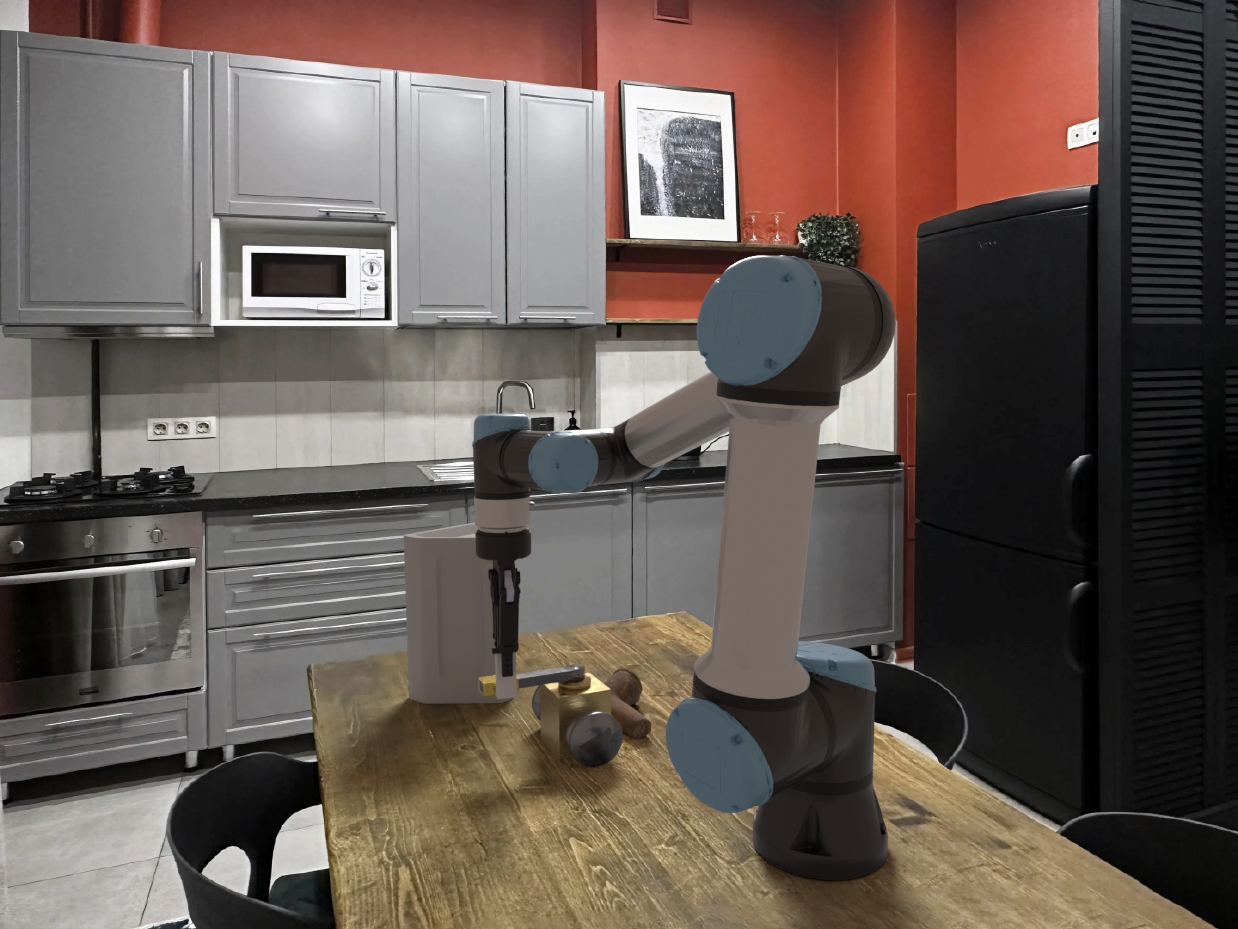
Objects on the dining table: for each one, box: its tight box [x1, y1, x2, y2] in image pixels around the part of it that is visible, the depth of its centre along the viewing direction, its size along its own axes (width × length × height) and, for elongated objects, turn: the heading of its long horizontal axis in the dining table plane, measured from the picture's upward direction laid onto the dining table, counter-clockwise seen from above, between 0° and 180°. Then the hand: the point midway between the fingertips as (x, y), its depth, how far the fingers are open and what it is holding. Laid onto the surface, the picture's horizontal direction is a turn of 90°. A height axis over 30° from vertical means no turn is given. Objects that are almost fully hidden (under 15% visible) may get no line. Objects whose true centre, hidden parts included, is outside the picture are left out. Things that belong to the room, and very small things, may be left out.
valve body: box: [531, 672, 624, 768], centre depth 127 cm, size 17×8×10 cm, turn 25°
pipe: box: [603, 667, 652, 740], centre depth 137 cm, size 6×17×10 cm
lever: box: [479, 663, 586, 696], centre depth 124 cm, size 16×3×2 cm, turn 114°
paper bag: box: [403, 522, 514, 705], centre depth 149 cm, size 19×15×28 cm
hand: (506, 696), depth 120 cm, fingers closed
